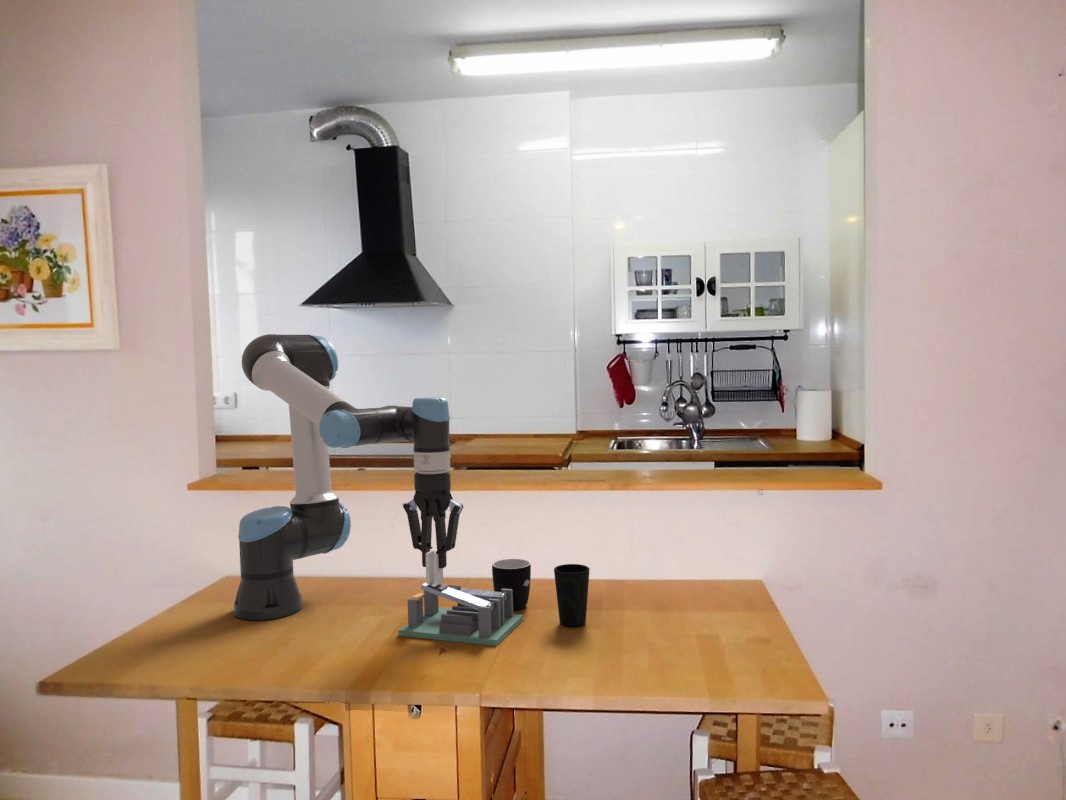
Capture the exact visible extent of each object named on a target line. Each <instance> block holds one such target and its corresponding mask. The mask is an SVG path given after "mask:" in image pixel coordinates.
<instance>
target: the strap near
mask: <svg viewBox="0 0 1066 800" xmlns="http://www.w3.org/2000/svg"><path fill="white" fill-rule="evenodd" d="M448 585H449V584H446V583H443V582H442V583H440V584H439V585H434V582H433V583H431V584H426V582H424V583H422V584H421V585H420V586H421V588H420V589H421V590H422V591H423V592H424V591H427V592H430V593H433V594H435V595H438V597H441V598H444V599H446V600H449V601H452V602H454V603H457V604H458V603H460V604H462V605H465V606H468V607H470V608H473V609H476V610H478V607H479V606H485V607H491V611H493V610H494V609H495V608H496V604H495V602H488V601H486V600H483V599H480V598H478V597H475V596H472V595H469V594H467V593H464V592H461V591H458V590H456V589H453V588H450V587H448Z"/></svg>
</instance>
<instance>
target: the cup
mask: <svg viewBox="0 0 1066 800" xmlns="http://www.w3.org/2000/svg"><path fill="white" fill-rule="evenodd" d="M590 569H591V568H589V566H587V565H585V564H584V565H583V564H577V563H567V564H566V563H565V564H560V565H557V566H555V567H554V568H553V572H554V574H553V575H554V582H555V583H554V584H555V590H556V600H557V608H558V610H557V611H558V619H559V625H561V627H565V628H568V629H569V628H571V629H574V628H581V627H584V626H585V625H586V624H587V623H586V622H587V611H588V595H589V582H590Z"/></svg>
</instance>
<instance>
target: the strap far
mask: <svg viewBox="0 0 1066 800" xmlns="http://www.w3.org/2000/svg"><path fill="white" fill-rule="evenodd" d="M447 585H448V587H450V588H453V589H456V590H458V591H461V592H464V593H467V594H469V595H472V596H475V597H478V598H480V599H483V600H486V601H488V599H492V596H493V595H495V596H504V601H505V600H506V599H507V598H508V597H509V594H508V592H506V591H504V592H494V590H484V589H475V588H467V587H462V586H461V585H451V584H447Z"/></svg>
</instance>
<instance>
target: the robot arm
mask: <svg viewBox="0 0 1066 800" xmlns="http://www.w3.org/2000/svg"><path fill="white" fill-rule="evenodd" d="M241 370H242V371H243V373H244V376H245V377H246V378H247V380H248V381H249V382H250V383H251V384H253V385H254V386H255V387H257V388H258V389H259V390H263V391H270V393H271V392H272V393H273V394H274V395H275V396H277V397H278V398H280V399H281V400H282V401H284V403H286V404H287V405H288V410H289V411H288V412H289V425H290V438H291V439H290V440H291V450H292V463H293V475H294V486H295V487H294V490H295V495H294V496H293V498H292V499H291V500H290V501H289V506H290V508H289V507H288V506H283V505H282V506H281V505H277V506H271V507H264V508H260V509H256V510H253V511H251V512H248V513H246V514H245V515H244V516H242V518H241V519H240V521H239V523H238V536H237V537H238V542H239V565H240V582H239V586H238V589H237V593H236V596H235V600H234V603H233V615H234V617H236V618H238V619H241V620H246V621H265V620H274V619H280V618H283V617H287V616H290V615H293V614H296V613H298V612H299V611H300V610H301V609H302V608H303V596H302V594H301V593H300V589H299V586H298V583H297V581H296V578H295V575H294V561H295V560H301V559H304V558H308V557H311V556H316V555H321V554H324V555H325V554H328V553H330V552H332V551H335V550H338V549H340V548H342V547H343V546H344V545H345V543H346V542H347V540H348V538H349V536H350V533H351V528H352V527H351V526H352V524H351V522H352V521H351V515H350V513H349V511H348V508H347V507H346V505H344V504H343V503H341V502H340V499H339V496H338V495H337V494H336V493H335V492H334V491H333V488H332V478H331V477H332V476H331V463H330V454H329V450H330V449H329V448H333V449H334V448H340V449H341V448H342V449H347V448H351V447H357V446H368V445H375V444H383V443H384V444H385V443H395V442H412V443H413V468H414V470H415V471H416V472H415V473H414V474H413V477H414V478H413V481H414V482H413V483H414V484H413V485H414V491H415V492H414V496H413V497H412V500H410V501H408V502H405V503H403V504H402V506H403V510H404V511H405V513H406V516H407V522H408V527H409V531H410V533H409V534H410V537H411V542H412V547H413V549H415V550H419V551H420V552H421V565H422V567H423V568H425V583H426V584H431V583H433V582H434V585H439V584H440V583H443V582H444V569H445V568H446V567H447V552H449V551H451V550H453V549H454V548H455V547H456V541H457V535H458V527H459V522H460V521H459V520H460V514H461V512H462V511H463V509H464V504H463V503H457V502H456V501H455V500H454V498H453V496H452V493H451V487H452V484H451V483H452V481H451V480H452V479H451V473H450V472H449V471H448V470H450V469H451V453H450V450H451V449H450V447H451V446H450V419H451V416H450V409H449V401H448V399H446V398H444V397H441V396H440V397H416V398H414V399H413V401H412V405H411V406H404V405H403V406H402V405H400V406H398V405H386V406H385V405H384V406H381V407H371V408H370V407H369V408H357V407H354V406H353V405H352V404H350V403H348V402H347V401H346V400H345V399H342V398H341V397H339V396H338V395H337V394H335V393H334V392H332V391H331V390H330V388H331V386H330V382H331V381H333V379H334V378H335V377H336V376H337V371H338V370H339V359H338V355H337V352H336V349H335V347H334V346H333V344H332V343H331V342H330V341H329V340H328V339H327V338H326V337H324V336H321V335H313V334H276V333H275V334H274V333H271V334H270V333H269V334H264V335H260V336H258V337H256V338H254V339H253V340H251V341H250V342H249V343H248V344H247V345H246V347H245V348H244V350H243V353H242V355H241ZM448 508H449V512H450V513H449V518H448V523H447V528H446V518H447V514H446V512H447V510H448ZM417 509H418V510H419V511H420V518H419V513H418V510H417ZM420 521H421V524H420ZM433 522H434V527H435V529H434V530H435V531H434V532H435V543H436V551H435V550H433V546H432V535H433V533H432V531H433Z"/></svg>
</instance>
